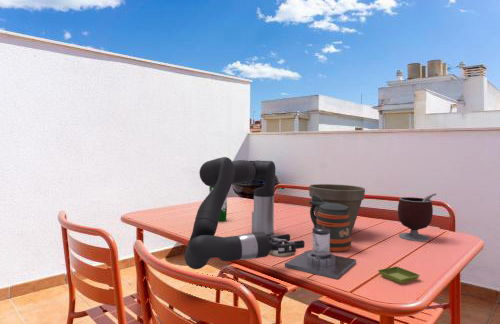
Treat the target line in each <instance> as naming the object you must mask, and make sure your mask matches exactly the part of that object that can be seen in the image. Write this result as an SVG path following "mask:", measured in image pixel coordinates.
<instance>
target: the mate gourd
mask: <svg viewBox="0 0 500 324" xmlns="http://www.w3.org/2000/svg"><path fill="white" fill-rule="evenodd" d="M434 196H437V193H436V192H435V193H432V194H430V195H427V196H425V197H414V196H413V197H411V196H405V197H404V196H403V197H399V200H398V204H397V215H398V216H397V217H398V221H399V222H400V223H401V225H402V226H404V227H406V228H408V229H409V230H410V231H409V232H401V233H399V234H398V237H399V239H403V240H406V241H410V242H411V241H412V242H421V241H422V242H428V241H427V240H429V239H431V237H429V236H428V235H426V234H422V233H419V230H422V229H425V228H427V227H428V226H430V224H432V219H433V215H434V214H433V213H434V212H433V211H434V207H433V202H432V197H434ZM429 241H430V240H429Z"/></svg>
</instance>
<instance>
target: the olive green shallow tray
mask: <svg viewBox="0 0 500 324" xmlns="http://www.w3.org/2000/svg"><path fill="white" fill-rule="evenodd" d="M377 272H378V273H379V274H380V275H381V277H383V278H386V279H388V280H390V281H393V282H395V283H397V284H400V285H401V284H404V283H408V282H412V281H413V282H414V281H416V280H417V279H419V277H420V276H421V275H420V274H418V273H416V272H413V271H411V270H408V269H405V268H402V267H401V266H393V267H386V268H381V269H378V270H377Z"/></svg>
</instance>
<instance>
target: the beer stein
mask: <svg viewBox="0 0 500 324" xmlns="http://www.w3.org/2000/svg"><path fill="white" fill-rule="evenodd" d="M308 203H309V205H311V206H310V209H309V215H310V219H311V220H310V221H311V222H312V224H313V228H315V227H325V228H329V229H330V253H331V252H332V253H341V252H342V253H345V252H348V251H350V250H351V249H352V236H351V235H350V228H349V225H350V221H349V213H348V210H349V207H347V206H345V205H342V204H337V203H328V202H323V199H322V198H321V197H320V196H318V195H316V194H314V195H313V198H311V200H309V201H308ZM316 206H318V207H319V210H318V213H317V217H316V216H315V212H314V209H315V207H316Z"/></svg>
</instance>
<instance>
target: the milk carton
mask: <svg viewBox="0 0 500 324" xmlns="http://www.w3.org/2000/svg"><path fill="white" fill-rule="evenodd" d="M208 187H209V188H208V189H209V190H208V191H209V192H208V194H209V193H210V192H211V191H212V189H213V188H214V187H210V186H208ZM227 208H228V196H227V197H226V199H225V201H224V204H223V206H222V209H221V212H220V216H219V221H222V222H227V212H228V211H227V210H228V209H227Z"/></svg>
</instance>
